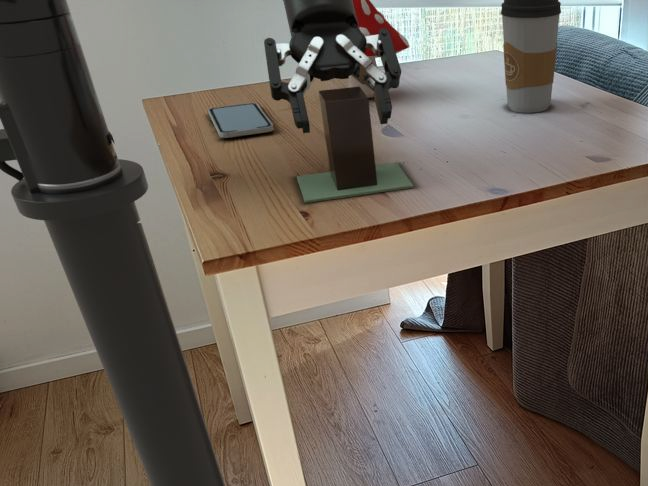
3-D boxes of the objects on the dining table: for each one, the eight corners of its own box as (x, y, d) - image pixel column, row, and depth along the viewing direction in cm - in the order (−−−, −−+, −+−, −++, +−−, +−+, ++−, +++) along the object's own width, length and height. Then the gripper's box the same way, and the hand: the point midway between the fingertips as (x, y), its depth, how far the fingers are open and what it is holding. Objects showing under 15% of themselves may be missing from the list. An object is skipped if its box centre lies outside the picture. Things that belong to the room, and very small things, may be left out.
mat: (305, 203, 74) (304, 200, 74) (296, 178, 80) (296, 176, 80) (413, 187, 77) (413, 185, 77) (397, 165, 83) (396, 162, 83)
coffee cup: (490, 105, 104) (489, -6, 95) (537, 96, 107) (540, -12, 98) (519, 118, 98) (520, 1, 89) (568, 109, 101) (574, -5, 92)
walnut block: (337, 190, 76) (325, 102, 70) (330, 175, 80) (318, 90, 74) (377, 184, 77) (368, 97, 72) (369, 170, 81) (359, 86, 76)
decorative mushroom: (417, 85, 115) (411, -16, 106) (406, 108, 104) (397, -3, 95) (334, 86, 116) (321, -14, 108) (314, 109, 105) (298, -1, 96)
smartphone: (256, 102, 106) (274, 126, 94) (257, 107, 106) (275, 132, 95) (206, 108, 104) (219, 133, 92) (208, 114, 104) (220, 140, 93)
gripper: (247, -27, 72) (277, 114, 69) (381, -35, 75) (414, 98, 73) (254, 21, 79) (281, 150, 77) (376, 11, 83) (406, 134, 80)
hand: (346, 125), depth 75 cm, fingers open, 8 cm apart
